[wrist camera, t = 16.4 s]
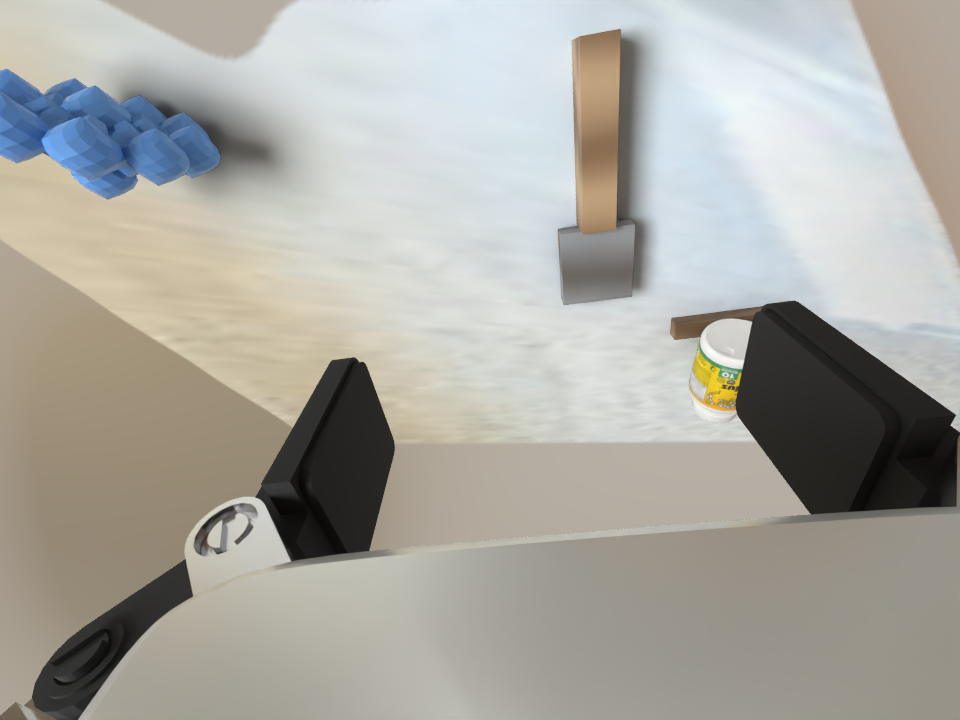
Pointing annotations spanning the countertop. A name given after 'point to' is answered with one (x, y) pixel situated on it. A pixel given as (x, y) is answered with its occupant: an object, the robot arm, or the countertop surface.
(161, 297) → the countertop surface
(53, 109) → the grapes
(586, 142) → the turner
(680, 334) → the stop strip
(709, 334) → the supplement bottle
